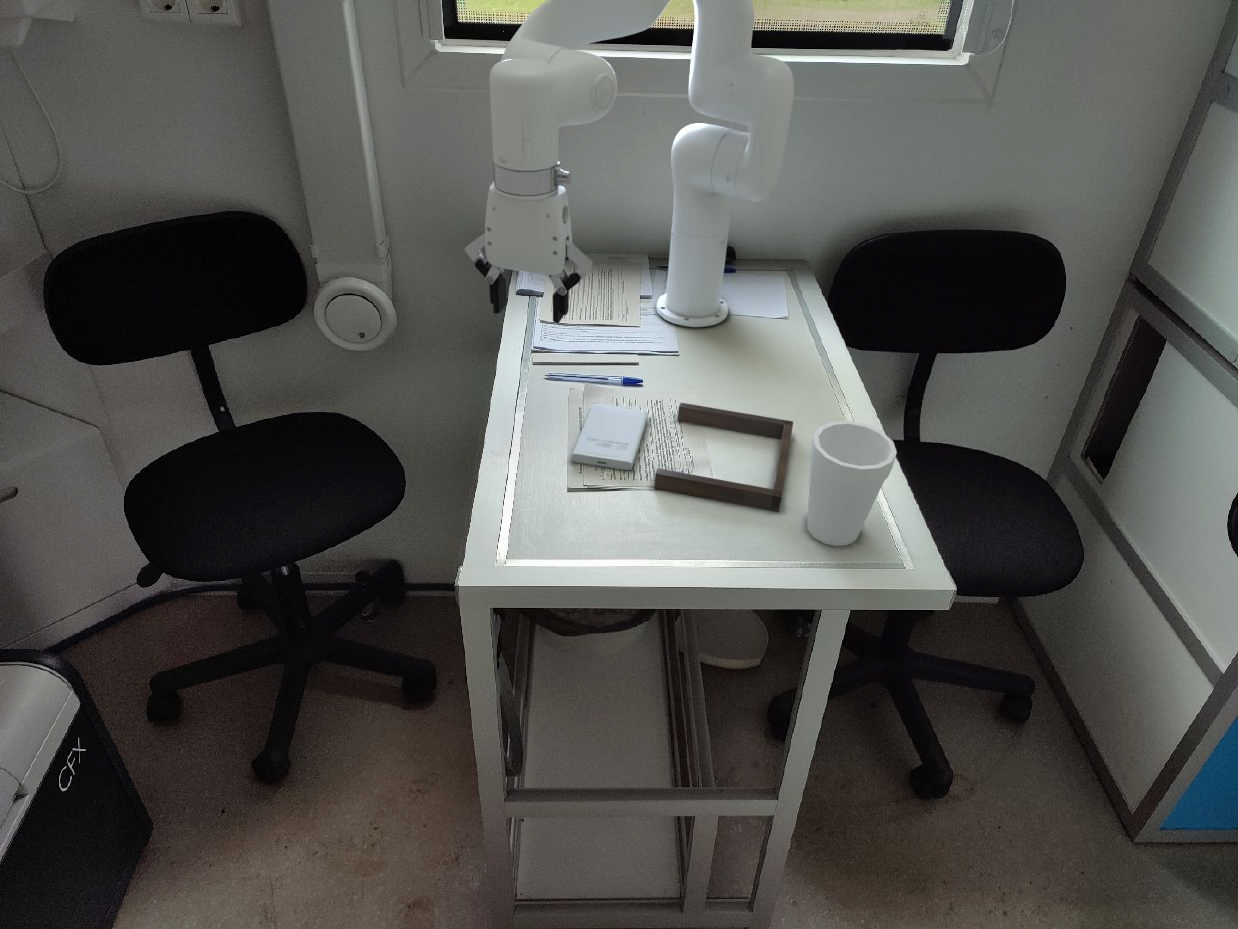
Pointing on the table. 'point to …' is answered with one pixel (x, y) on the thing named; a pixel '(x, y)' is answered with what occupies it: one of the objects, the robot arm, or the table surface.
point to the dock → (723, 488)
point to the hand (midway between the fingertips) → (529, 312)
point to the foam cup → (845, 478)
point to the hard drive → (610, 437)
